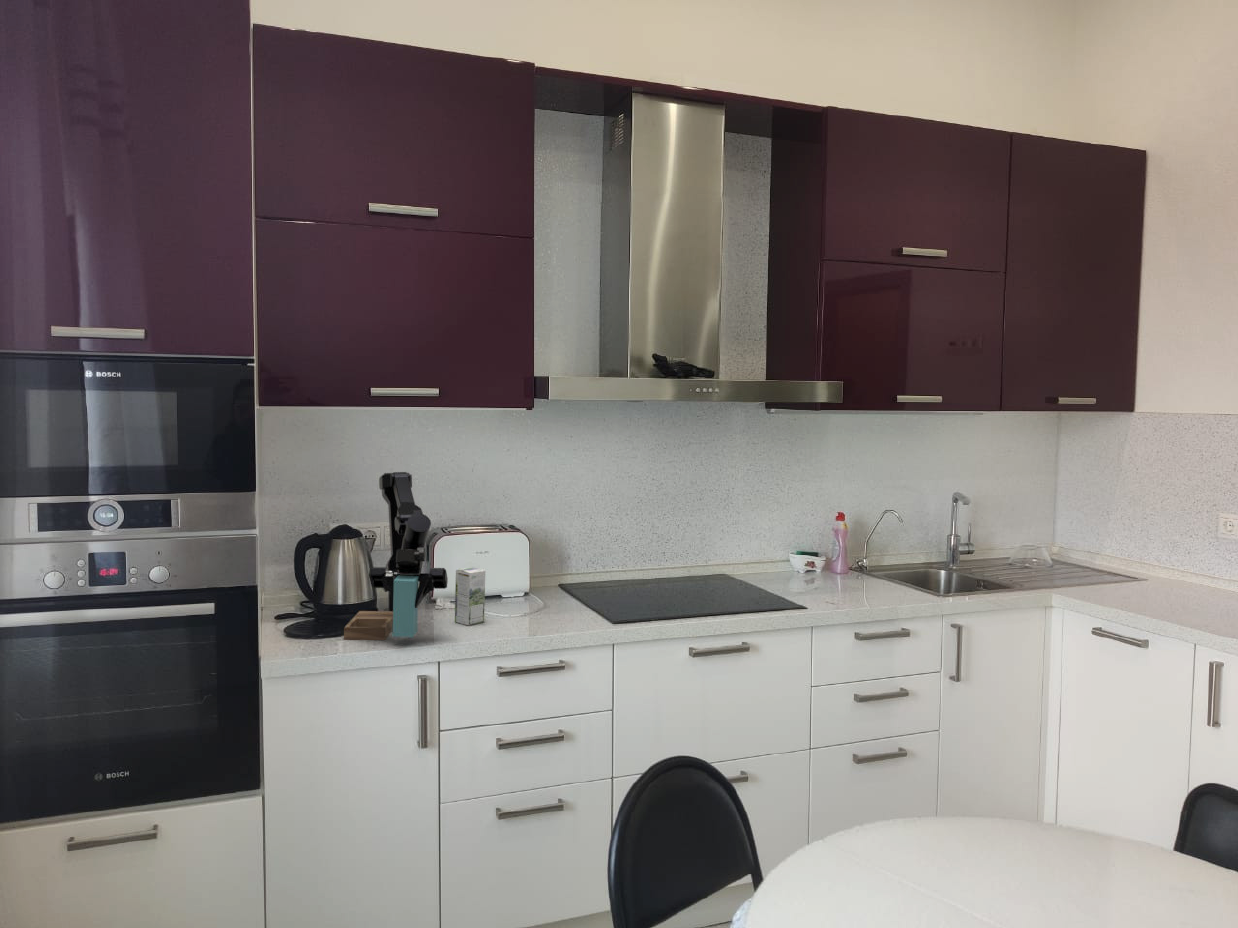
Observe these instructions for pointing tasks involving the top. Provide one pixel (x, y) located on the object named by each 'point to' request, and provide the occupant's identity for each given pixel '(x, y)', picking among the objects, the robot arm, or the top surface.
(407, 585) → the teal peg block
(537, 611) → the top surface
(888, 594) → the top surface
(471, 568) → the syrup box
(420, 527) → the robot arm
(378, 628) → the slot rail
